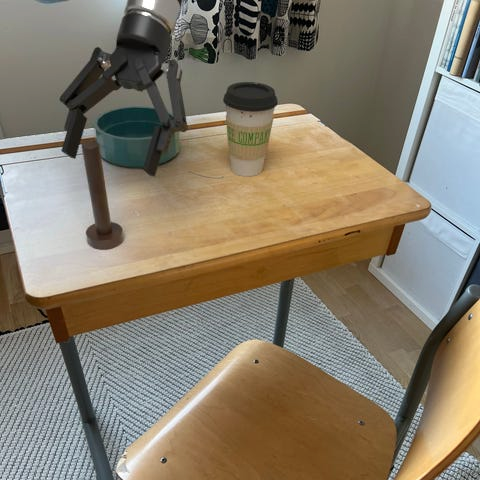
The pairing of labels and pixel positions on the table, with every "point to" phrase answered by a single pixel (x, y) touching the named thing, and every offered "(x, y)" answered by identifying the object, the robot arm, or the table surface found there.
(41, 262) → the table surface
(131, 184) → the table surface
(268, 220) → the table surface
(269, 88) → the coffee cup
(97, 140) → the bowl
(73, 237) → the table surface
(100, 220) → the brown pestle
